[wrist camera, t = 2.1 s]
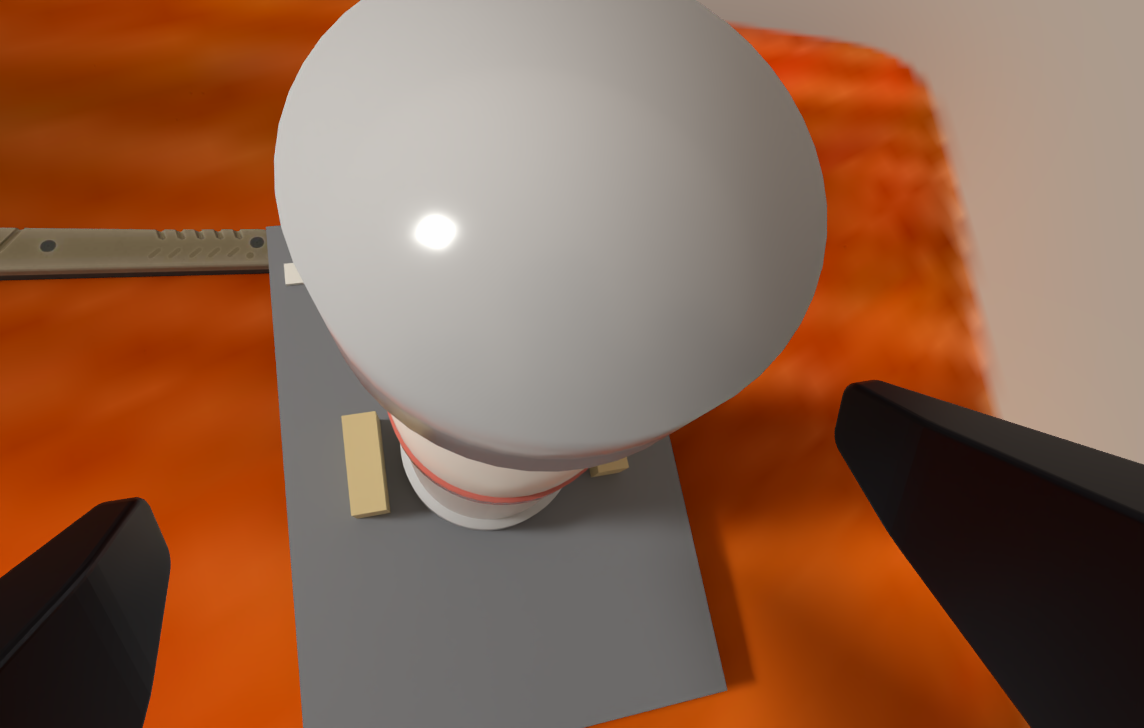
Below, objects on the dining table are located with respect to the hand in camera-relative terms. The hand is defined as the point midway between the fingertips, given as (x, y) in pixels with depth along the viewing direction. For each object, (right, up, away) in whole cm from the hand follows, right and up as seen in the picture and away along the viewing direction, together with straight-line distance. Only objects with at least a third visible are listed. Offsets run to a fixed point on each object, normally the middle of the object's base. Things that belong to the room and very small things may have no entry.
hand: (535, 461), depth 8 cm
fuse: (-2, -1, +9) cm, 9 cm away
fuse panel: (-2, -1, +10) cm, 10 cm away
